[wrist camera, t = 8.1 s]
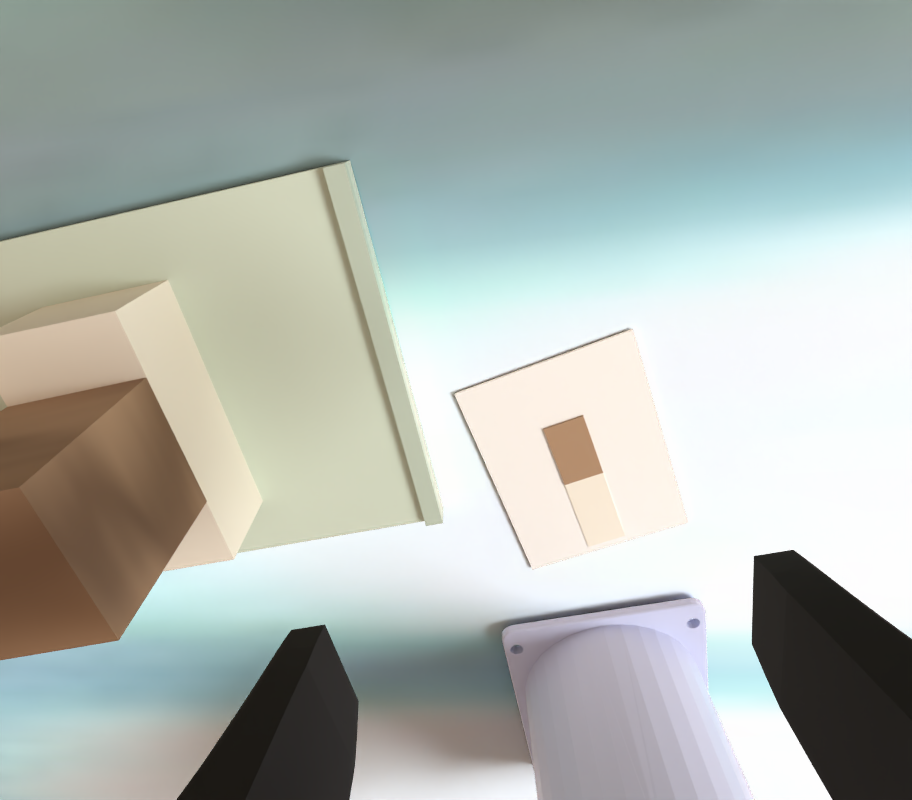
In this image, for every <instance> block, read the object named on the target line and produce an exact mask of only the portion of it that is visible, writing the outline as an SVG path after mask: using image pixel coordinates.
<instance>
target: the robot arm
mask: <svg viewBox="0 0 912 800" xmlns="http://www.w3.org/2000/svg"><path fill="white" fill-rule="evenodd" d="M690 619H693V620H690ZM689 620H690V621H689ZM502 642H503V646H504V650H505V655H506V659H507V663H508V667H509V671H510V675H511V679H512V683H513V687H514V691H515V695H516V699H517V703H518V708H519V712H520V716H521V720H522V724H523V728H524V732H525V736H526V740H527V744H528V748H529V752H530V756H531V761H532V765H533V769H534V773H535V782H536V790H537V799H538V800H755V799H754V797H753V794H752V792H751V790H750V787H749V785H748V783H747V780H746V778H745V776H744V774H743V771H742V769H741V767H740V764H739V762H738V760H737V757H736V755H735V753H734V750H733V748H732V746H731V743H730V741H729V739H728V736H727V734H726V732H725V729H724V727H723V725H722V723H721V720H720V718H719V716H718V713H717V711H716V709H715V706H714V704H713V702H712V699H711V697H710V695H709V692H708V666H707V639H706V612H705V608H704V606H703V604H702V602H701V601H700V600H699V599H695V598H686V599H680V600H673V601H667V602H660V603H654V604H647V605H641V606H634V607H627V608H621V609H614V610H608V611H601V612H595V613H588V614H582V615H575V616H568V617H562V618H555V619H549V620H542V621H536V622H529V623H523V624H516V625H511V626H508V627H506V628H505V629H504V630H503V631H502ZM514 645H520V646H514ZM752 645H753V648H754V650H755V652H756V655H757V657H758V659H759V662H760V664H761V666H762V669H763V671H764V673H765V676H766V678H767V680H768V682H769V685H770V687H771V689H772V691H773V693H774V696H775V698H776V700H777V702H778V704H779V707H780V709H781V710H782V712H783V714H784V716H785V717H786V719H787V721H788V723H789V725H790V726H791V728H792V730H793V732H794V733H795V735H796V737H797V739H798V740H799V742H800V744H801V746H802V747H803V749H804V751H805V753H806V754H807V756H808V758H809V760H810V761H811V763H812V765H813V767H814V768H815V770H816V772H817V774H818V775H819V777H820V779H821V780H822V782H823V784H824V786H825V787H826V789H827V791H828V793H829V794H830V796H831V798H832V799H833V800H912V639H911V638H910V637H908V636H907V635H906V634H904V633H903V632H901V631H900V630H899V629H897V628H896V627H895V626H893V625H892V624H890V623H889V622H888V621H886V620H885V619H884V618H882V617H881V616H880V615H878V614H877V613H876V612H874V611H873V610H872V609H870V608H869V607H868V606H866V605H865V604H864V603H862V602H861V601H860V600H858V599H857V598H856V597H854V596H853V595H852V594H850V593H849V592H848V591H847V590H845V589H844V588H843V587H841V586H840V585H839V584H837V583H836V582H835V581H833V580H832V579H831V578H830V577H828V576H827V575H826V574H824V573H823V572H822V571H820V570H819V569H818V568H817V567H815V566H814V565H813V564H811V563H810V562H809V561H807V560H806V559H805V558H804V557H802V556H801V555H800V554H798V553H797V552H795V551H794V550H790V551H784V552H777V553H771V554H765V555H759V556H754V577H753V617H752ZM357 722H358V699H357V697H356V695H355V692H354V690H353V688H352V686H351V683H350V681H349V679H348V676H347V674H346V672H345V670H344V667H343V665H342V663H341V660H340V658H339V656H338V654H337V651H336V649H335V647H334V644H333V642H332V640H331V638H330V635H329V633H328V631H327V628H326V626H325V625H320V626H314V627H308V628H301V629H295V630H291V631H290V633H289V634H288V635H287V637H286V638H285V640H284V641H283V643H282V644H281V646H280V647H279V649H278V650H277V652H276V653H275V655H274V657H273V658H272V660H271V661H270V663H269V664H268V666H267V667H266V669H265V671H264V672H263V674H262V675H261V677H260V678H259V680H258V681H257V683H256V685H255V686H254V688H253V689H252V691H251V692H250V694H249V695H248V697H247V698H246V700H245V702H244V703H243V705H242V706H241V708H240V709H239V711H238V712H237V714H236V715H235V717H234V718H233V720H232V721H231V723H230V724H229V726H228V727H227V729H226V730H225V732H224V733H223V735H222V736H221V737H220V739H219V740H218V742H217V743H216V745H215V746H214V748H213V749H212V751H211V752H210V754H209V755H208V757H207V758H206V760H205V761H204V762H203V764H202V765H201V767H200V768H199V770H198V771H197V772H196V774H195V775H194V776H193V778H192V779H191V781H190V782H189V783H188V785H187V786H186V787H185V789H184V790H183V792H182V793H181V794H180V796H179V797H178V798H177V800H349V798H350V792H351V786H352V780H353V774H354V767H355V755H356V741H357Z"/></svg>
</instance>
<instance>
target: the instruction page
mask: <svg viewBox="0 0 912 800" xmlns="http://www.w3.org/2000/svg"><path fill="white" fill-rule="evenodd" d="M454 395H455V397H456V399H457V402H458V404H459V406H460V408H461V410H462V413H463V415H464V417H465V419H466V422H467V424H468V426H469V428H470V431H471V433H472V435H473V437H474V440H475V442H476V444H477V446H478V449H479V451H480V453H481V455H482V457H483V460H484V462H485V464H486V466H487V469H488V471H489V473H490V475H491V478H492V480H493V482H494V484H495V487H496V489H497V491H498V493H499V495H500V498H501V500H502V502H503V504H504V507H505V509H506V511H507V513H508V516H509V518H510V520H511V522H512V525H513V527H514V529H515V531H516V534H517V536H518V538H519V540H520V542H521V545H522V547H523V549H524V551H525V554H526V556H527V558H528V560H529V563H530V565H531V567H532V569H536V568H540V567H543V566H546V565H550V564H553V563H556V562H559V561H563V560H566V559H569V558H573V557H576V556H579V555H583V554H586V553H589V552H592V551H596V550H599V549H602V548H606V547H609V546H612V545H615V544H619V543H622V542H625V541H629V540H632V539H635V538H639V537H642V536H645V535H648V534H652V533H655V532H658V531H662V530H665V529H668V528H671V527H675V526H678V525H681V524H685V523H688V520H687V517H686V513H685V510H684V506H683V503H682V499H681V496H680V492H679V489H678V485H677V482H676V478H675V475H674V471H673V468H672V464H671V461H670V457H669V454H668V450H667V447H666V443H665V440H664V436H663V433H662V429H661V426H660V422H659V419H658V415H657V412H656V408H655V405H654V401H653V398H652V394H651V391H650V387H649V384H648V380H647V377H646V373H645V370H644V366H643V363H642V359H641V356H640V352H639V349H638V346H637V342H636V339H635V335H634V332H633V329H630V330H627V331H624V332H622V333H619V334H616V335H613V336H611V337H608V338H605V339H602V340H600V341H597V342H594V343H591V344H589V345H586V346H583V347H580V348H578V349H575V350H572V351H569V352H567V353H564V354H561V355H558V356H556V357H553V358H550V359H547V360H545V361H542V362H539V363H536V364H534V365H531V366H528V367H525V368H523V369H520V370H517V371H514V372H512V373H509V374H506V375H503V376H501V377H498V378H495V379H492V380H490V381H487V382H484V383H481V384H479V385H476V386H473V387H470V388H467V389H465V390H462V391H459V392H456V393H454Z"/></svg>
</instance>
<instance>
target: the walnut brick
mask: <svg viewBox="0 0 912 800" xmlns="http://www.w3.org/2000/svg"><path fill="white" fill-rule="evenodd" d="M206 502H207V500H206V498H205V496H204V494H203V492H202V490H201V488H200V486H199V484H198V482H197V480H196V478H195V476H194V474H193V472H192V470H191V468H190V466H189V464H188V461H187V459H186V457H185V455H184V453H183V451H182V449H181V447H180V445H179V443H178V441H177V439H176V437H175V435H174V433H173V431H172V429H171V427H170V425H169V423H168V421H167V419H166V417H165V415H164V413H163V410H162V408H161V406H160V404H159V402H158V400H157V398H156V396H155V394H154V392H153V390H152V388H151V386H150V384H149V382H148V380H147V378H141V379H136V380H132V381H127V382H122V383H118V384H113V385H108V386H103V387H99V388H94V389H89V390H85V391H80V392H75V393H70V394H66V395H61V396H56V397H52V398H47V399H42V400H38V401H33V402H28V403H23V404H19V405H14V406H9V407H6V408H5V409H3V410H2V411H0V660H5V659H11V658H16V657H22V656H28V655H34V654H40V653H46V652H52V651H58V650H64V649H70V648H76V647H82V646H88V645H94V644H100V643H106V642H112V641H118V640H119V639H120V637H121V636H122V634H123V633H124V631H125V630H126V628H127V626H128V625H129V623H130V622H131V620H132V619H133V617H134V615H135V614H136V612H137V611H138V609H139V608H140V606H141V604H142V603H143V601H144V600H145V598H146V597H147V595H148V593H149V592H150V590H151V589H152V587H153V586H154V584H155V582H156V581H157V579H158V578H159V576H160V575H161V573H162V571H163V570H164V568H165V567H166V565H167V564H168V562H169V560H170V559H171V557H172V556H173V554H174V553H175V551H176V549H177V548H178V546H179V545H180V543H181V542H182V540H183V538H184V537H185V535H186V534H187V532H188V531H189V529H190V527H191V526H192V524H193V523H194V521H195V520H196V518H197V516H198V515H199V513H200V512H201V510H202V509H203V507H204V505H205V504H206Z"/></svg>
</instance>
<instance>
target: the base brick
mask: <svg viewBox="0 0 912 800" xmlns="http://www.w3.org/2000/svg"><path fill="white" fill-rule="evenodd" d="M141 378H147V380H148V382H149V384H150V386H151V388H152V390H153V392H154V394H155V396H156V398H157V400H158V402H159V404H160V406H161V408H162V410H163V413H164V415H165V417H166V419H167V421H168V423H169V425H170V427H171V429H172V431H173V433H174V435H175V437H176V439H177V441H178V443H179V445H180V447H181V449H182V451H183V453H184V455H185V457H186V459H187V461H188V464H189V466H190V468H191V470H192V472H193V474H194V476H195V478H196V480H197V482H198V484H199V486H200V488H201V490H202V492H203V494H204V496H205V498H206V500H207V502H206V504H205V505H204V507H203V509H202V510H201V512H200V513H199V515H198V516H197V518H196V520H195V521H194V523H193V524H192V526H191V527H190V529H189V531H188V532H187V534H186V535H185V537H184V538H183V540H182V542H181V543H180V545H179V546H178V548H177V549H176V551H175V553H174V554H173V556H172V557H171V559H170V560H169V562H168V564H167V565H166V567H165V568H164V570H163V571H168V570H174V569H180V568H186V567H192V566H198V565H204V564H209V563H215V562H221V561H227V560H233V559H234V558H235V556H236V554H237V552H238V550H239V548H240V546H241V544H242V542H243V540H244V538H245V536H246V534H247V532H248V530H249V528H250V526H251V524H252V522H253V520H254V518H255V516H256V514H257V512H258V510H259V508H260V506H261V504H262V502H263V500H262V498H261V496H260V493H259V491H258V489H257V486H256V484H255V482H254V479H253V477H252V475H251V472H250V470H249V468H248V465H247V463H246V461H245V458H244V456H243V454H242V451H241V449H240V447H239V444H238V442H237V440H236V437H235V435H234V433H233V430H232V428H231V426H230V423H229V421H228V419H227V416H226V414H225V412H224V409H223V407H222V405H221V402H220V400H219V398H218V395H217V393H216V391H215V388H214V386H213V384H212V381H211V379H210V377H209V374H208V372H207V370H206V367H205V365H204V363H203V360H202V358H201V355H200V353H199V351H198V348H197V346H196V344H195V341H194V339H193V337H192V334H191V332H190V330H189V327H188V325H187V323H186V320H185V318H184V316H183V313H182V311H181V309H180V306H179V304H178V302H177V299H176V297H175V295H174V292H173V290H172V288H171V285H170V283H169V281H168V280H165V281H160V282H155V283H151V284H146V285H142V286H137V287H132V288H128V289H123V290H119V291H114V292H110V293H105V294H100V295H96V296H91V297H87V298H82V299H77V300H73V301H68V302H64V303H59V304H54V305H50V306H45V307H42V308H40V309H38V310H35V311H33V312H31V313H29V314H27V315H25V316H23V317H21V318H19V319H17V320H15V321H12V322H10V323H8V324H6V325H4V326H2V327H0V396H1V397H2V399H3V401H4V402H5V404H6V405H7V407H9V406H14V405H19V404H23V403H28V402H33V401H38V400H42V399H47V398H52V397H56V396H61V395H66V394H70V393H75V392H80V391H85V390H89V389H94V388H99V387H103V386H108V385H113V384H118V383H122V382H127V381H132V380H136V379H141Z"/></svg>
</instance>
